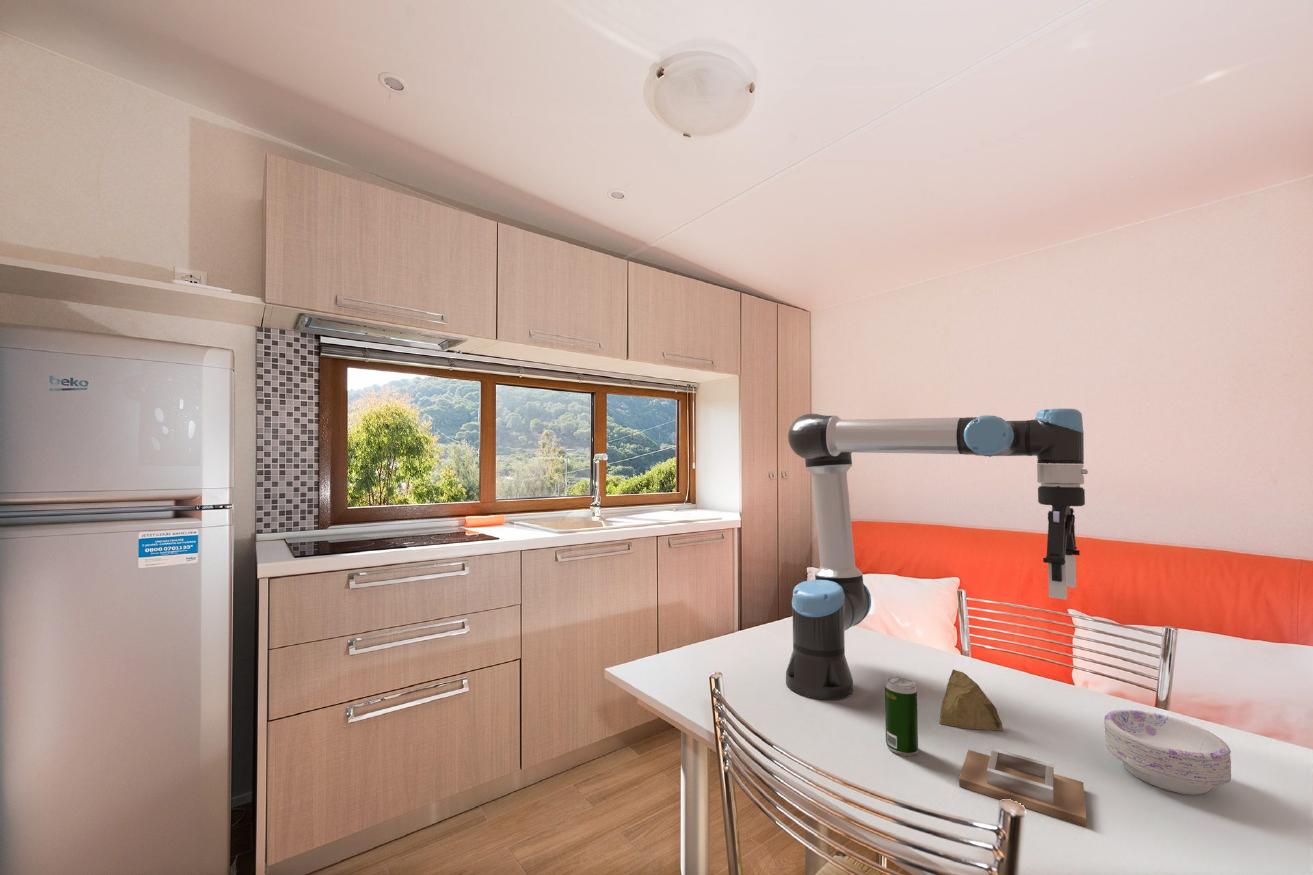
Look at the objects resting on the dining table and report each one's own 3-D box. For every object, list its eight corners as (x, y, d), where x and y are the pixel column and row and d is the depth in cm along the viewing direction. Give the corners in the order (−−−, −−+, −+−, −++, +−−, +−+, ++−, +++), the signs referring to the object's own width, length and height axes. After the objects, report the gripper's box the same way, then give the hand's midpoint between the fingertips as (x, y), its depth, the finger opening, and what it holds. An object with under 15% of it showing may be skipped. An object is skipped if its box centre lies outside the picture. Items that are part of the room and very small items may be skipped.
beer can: (907, 760, 94) (906, 690, 94) (879, 746, 98) (878, 680, 99) (924, 751, 96) (923, 683, 97) (896, 738, 101) (895, 673, 102)
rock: (1012, 713, 107) (959, 689, 114) (1008, 687, 103) (953, 664, 111) (993, 759, 101) (938, 732, 109) (987, 734, 98) (931, 707, 105)
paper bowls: (1203, 818, 79) (1201, 762, 79) (1086, 764, 92) (1084, 717, 93) (1252, 792, 85) (1249, 741, 85) (1135, 746, 99) (1133, 702, 99)
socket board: (959, 786, 86) (958, 765, 86) (968, 756, 95) (967, 737, 95) (1086, 826, 76) (1085, 803, 77) (1083, 789, 85) (1082, 769, 85)
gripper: (1076, 488, 96) (1079, 607, 95) (1091, 484, 114) (1093, 585, 113) (1026, 486, 101) (1028, 599, 100) (1048, 483, 119) (1050, 579, 118)
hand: (1063, 592), depth 107 cm, fingers open, 13 cm apart
